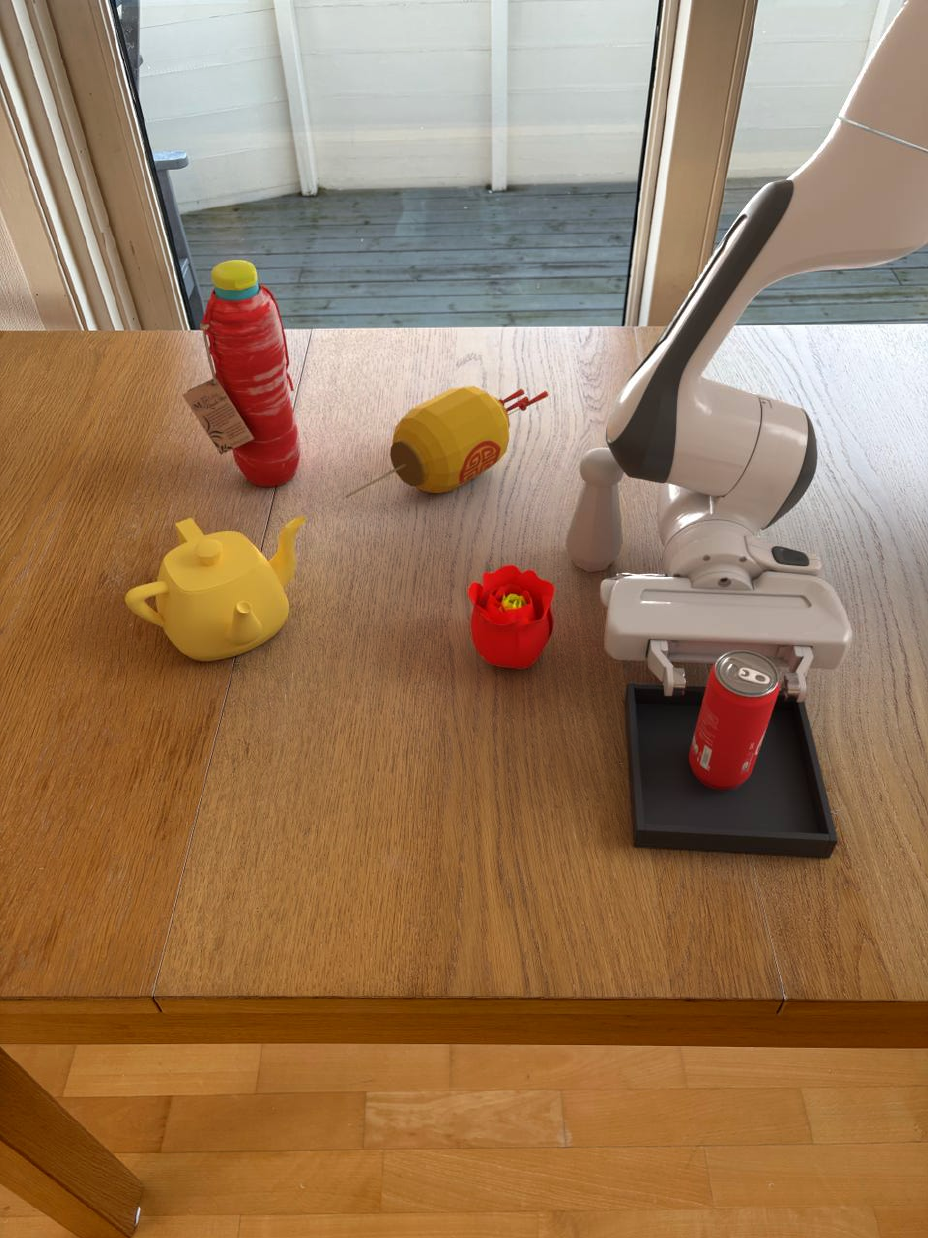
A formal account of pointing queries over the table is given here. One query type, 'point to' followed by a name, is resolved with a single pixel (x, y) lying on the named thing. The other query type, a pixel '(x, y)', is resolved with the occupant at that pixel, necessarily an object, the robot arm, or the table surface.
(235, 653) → the teapot
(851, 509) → the table surface
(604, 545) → the salt shaker
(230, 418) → the water bottle
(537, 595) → the flower
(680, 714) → the tray
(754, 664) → the beverage can
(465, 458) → the lantern
